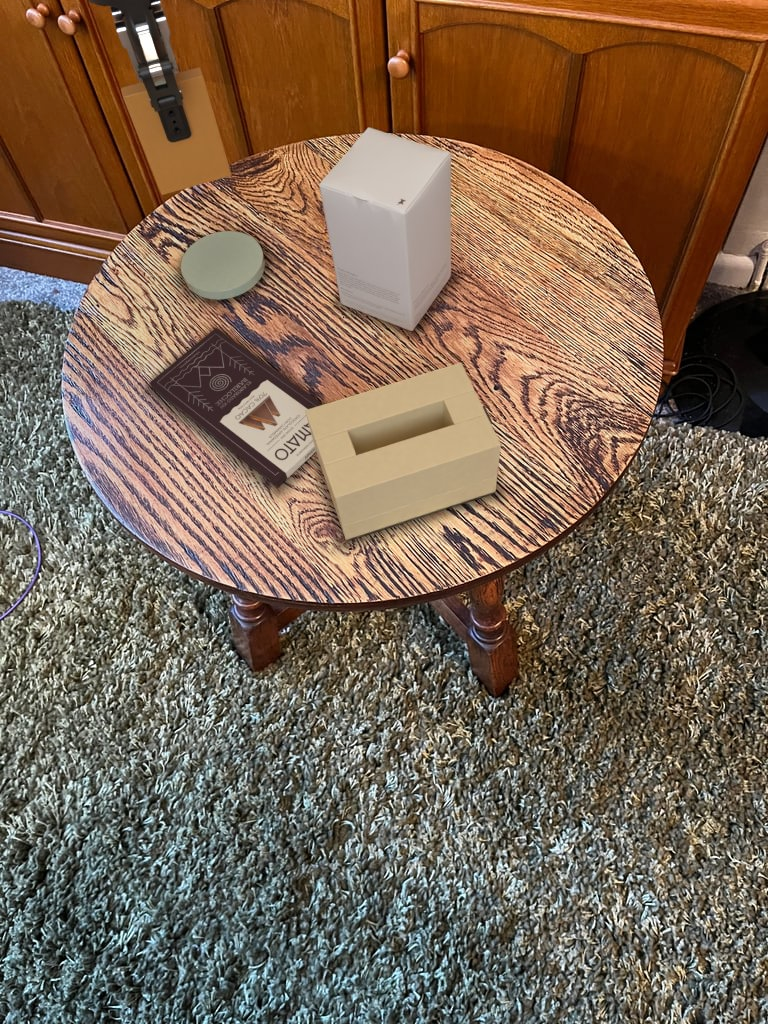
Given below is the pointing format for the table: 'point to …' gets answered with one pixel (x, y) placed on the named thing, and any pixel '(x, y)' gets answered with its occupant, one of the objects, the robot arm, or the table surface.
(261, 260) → the plate
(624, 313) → the table surface
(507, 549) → the table surface
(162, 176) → the toast
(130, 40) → the robot arm
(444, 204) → the white product box
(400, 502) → the toaster
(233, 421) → the chocolate bar
